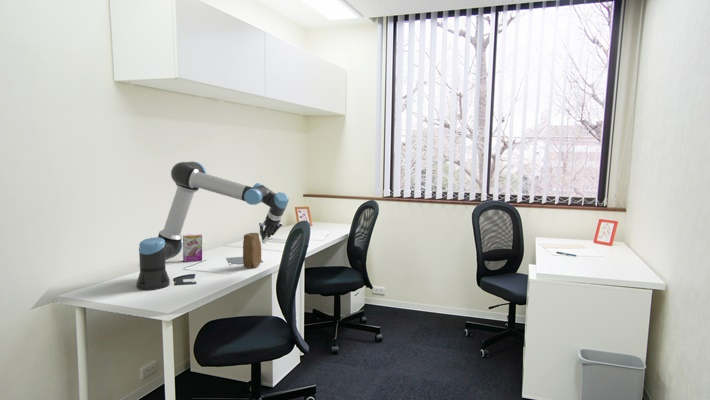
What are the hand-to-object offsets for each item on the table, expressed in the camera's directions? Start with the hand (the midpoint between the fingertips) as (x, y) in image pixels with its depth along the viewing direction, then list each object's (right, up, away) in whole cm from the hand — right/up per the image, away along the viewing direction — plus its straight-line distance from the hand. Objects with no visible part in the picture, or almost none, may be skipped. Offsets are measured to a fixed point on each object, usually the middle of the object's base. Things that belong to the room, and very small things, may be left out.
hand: (263, 241), depth 245 cm
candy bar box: (-49, -15, +26) cm, 58 cm away
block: (-9, -16, +14) cm, 23 cm away
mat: (-18, -14, +29) cm, 37 cm away
